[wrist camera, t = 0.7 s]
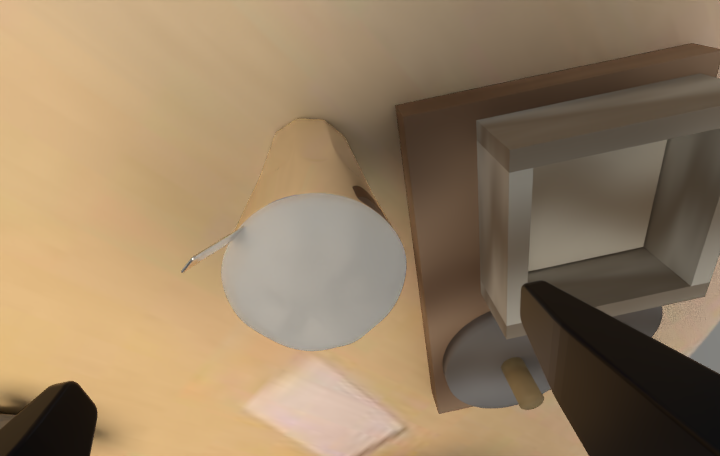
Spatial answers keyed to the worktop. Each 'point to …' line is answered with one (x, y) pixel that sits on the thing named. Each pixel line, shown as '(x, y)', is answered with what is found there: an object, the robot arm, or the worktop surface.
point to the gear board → (559, 208)
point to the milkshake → (311, 245)
